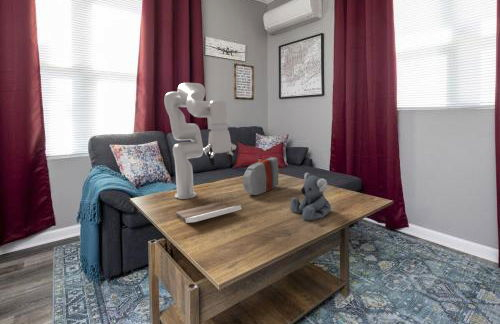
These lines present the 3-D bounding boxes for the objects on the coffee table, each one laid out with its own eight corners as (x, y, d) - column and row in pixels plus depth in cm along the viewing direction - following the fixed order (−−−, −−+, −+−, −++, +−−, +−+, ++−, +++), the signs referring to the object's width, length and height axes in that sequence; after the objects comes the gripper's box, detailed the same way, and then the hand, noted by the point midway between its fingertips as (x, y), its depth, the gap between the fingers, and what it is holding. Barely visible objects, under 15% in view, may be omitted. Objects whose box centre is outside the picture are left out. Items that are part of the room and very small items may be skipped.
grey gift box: (270, 156, 186) (240, 167, 163) (279, 156, 182) (249, 168, 159) (272, 184, 190) (242, 199, 168) (280, 186, 186) (251, 201, 164)
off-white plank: (185, 222, 129) (185, 218, 129) (230, 211, 143) (229, 207, 144) (195, 221, 121) (194, 217, 121) (241, 209, 135) (240, 205, 136)
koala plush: (287, 210, 144) (288, 172, 141) (318, 205, 150) (319, 169, 147) (306, 222, 128) (307, 179, 125) (339, 216, 134) (341, 176, 131)
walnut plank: (175, 216, 138) (175, 212, 137) (218, 205, 152) (218, 202, 152) (184, 222, 130) (184, 218, 129) (229, 210, 144) (229, 206, 144)
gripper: (230, 127, 139) (232, 162, 142) (198, 128, 129) (200, 166, 131) (239, 127, 133) (241, 163, 136) (206, 128, 123) (208, 168, 126)
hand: (221, 165), depth 134 cm, fingers open, 9 cm apart
